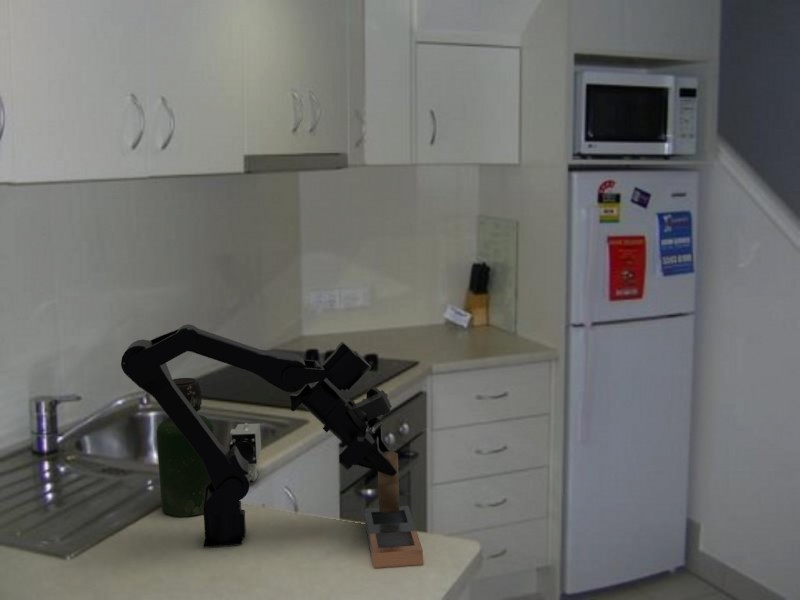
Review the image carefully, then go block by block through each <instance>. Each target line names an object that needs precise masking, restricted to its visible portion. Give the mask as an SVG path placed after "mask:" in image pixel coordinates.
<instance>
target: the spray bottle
mask: <svg viewBox="0 0 800 600" xmlns="http://www.w3.org/2000/svg"><path fill="white" fill-rule="evenodd" d="M172 379H173V378H172ZM173 381H174V383H175V384H176V385H177V387H178V388H179V389H180V391H181V392H182V393H183V395H184V396H185V397H186V399H187V400H188V401H189V403H190V404H191V405H192V407H193V408H194V409H195V411H196V412H197V413H198V412H199V411H200V410H201V409H202V407H201V405H202V389H201V386H200V384H199V381H197V380H196V379H195V378H193V377H178V378H174V379H173ZM198 415H199V416H200V417H201V419H202V420H203V421H204V423H205V424H206V425H207V427H208V428H209V429H210V431H211V432H212V433H213V434H214V426H213V424H212V422H211V421H210V420H209V419H208V418H207V417H206V416H204V415H202V414H198ZM156 441H157V443H156V445H157V458H158V472H159V473H158V474H159V475H158V476H159V487H160V488H159V489H160V490H159V491H160V503H161V510H162V512H164V513H165V514H167V515H171V516H175V517H189V516H197V515H201V514H204V512H203V509H204V499H205V492H206V487H207V486H208V485H209V484H210V483H211V481H210V479H209V476H208V474H207V471H206V469H205V466H204V464H203V462H202V460H201V459H200V457H199V456H198V455H197V453H196V452H195V451H194V449H193V448H192V447H191V445H190V444H189V443H188V442H187V440H186V439H185V438H184V436H183V435H182V434H181V432H180V431H179V430H178V428H177V427H176V426H175V424H174V423H173V422H172V420H171V419H170V418H169V417H167V418H164V419H163V420H162V421H161V422H160V423H159V425H158V426H157V429H156Z"/></svg>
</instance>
